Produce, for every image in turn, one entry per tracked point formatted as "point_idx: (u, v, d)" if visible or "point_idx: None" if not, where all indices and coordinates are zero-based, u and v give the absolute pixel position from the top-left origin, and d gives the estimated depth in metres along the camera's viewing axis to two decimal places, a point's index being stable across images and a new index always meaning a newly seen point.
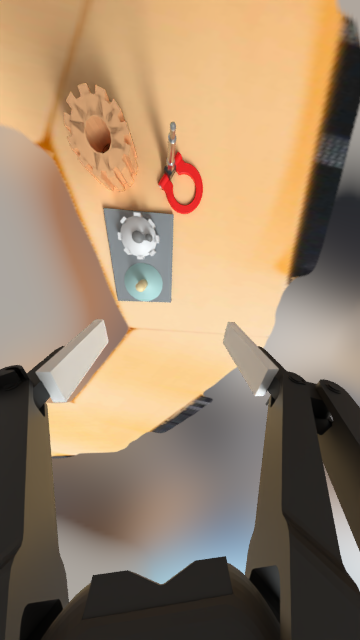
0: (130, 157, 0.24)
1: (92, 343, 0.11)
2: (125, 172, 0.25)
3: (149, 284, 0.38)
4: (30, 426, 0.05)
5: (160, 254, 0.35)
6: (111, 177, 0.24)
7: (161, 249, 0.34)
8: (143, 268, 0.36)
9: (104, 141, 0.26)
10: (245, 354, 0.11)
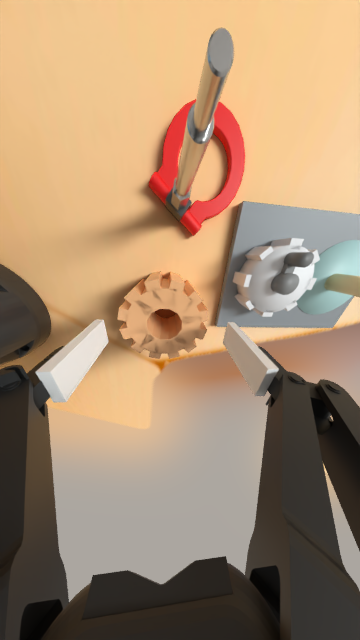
0: (181, 281, 0.14)
1: (92, 343, 0.11)
2: None
3: (340, 270, 0.19)
4: (30, 426, 0.05)
5: None
6: (207, 315, 0.15)
7: (293, 237, 0.16)
8: None
9: (152, 312, 0.20)
10: (245, 354, 0.11)
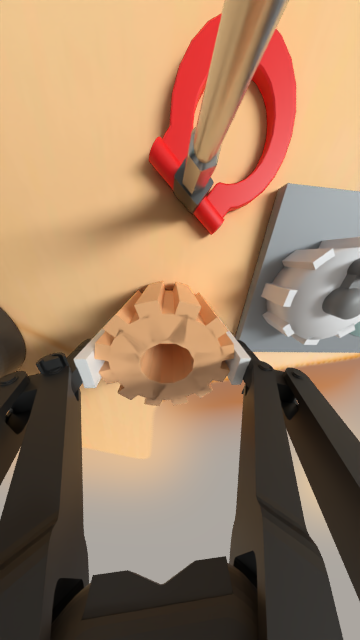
0: (194, 301, 0.09)
1: None
2: (217, 316, 0.10)
3: None
4: (68, 409, 0.06)
5: None
6: None
7: (353, 236, 0.12)
8: None
9: None
10: None
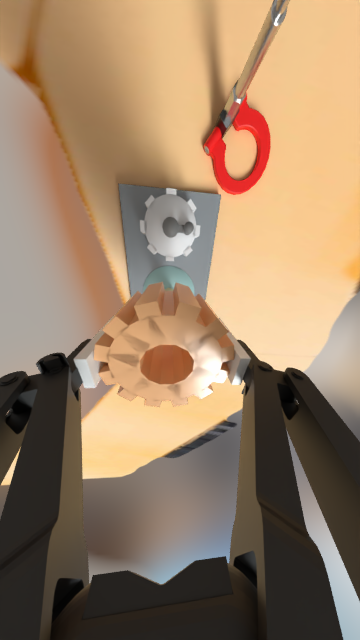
0: (194, 302, 0.09)
1: None
2: (217, 317, 0.10)
3: None
4: (68, 409, 0.06)
5: (195, 254, 0.25)
6: None
7: (197, 246, 0.24)
8: (169, 273, 0.26)
9: None
10: None
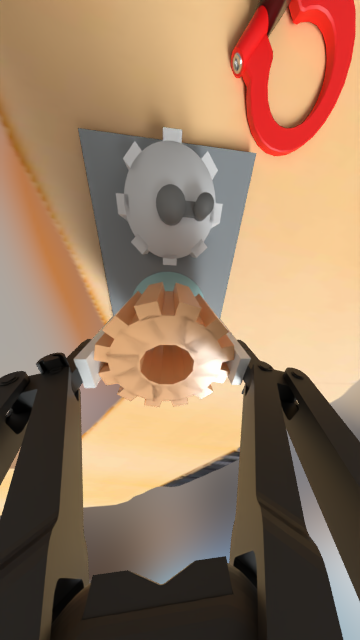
0: (194, 302, 0.09)
1: None
2: (217, 317, 0.10)
3: None
4: (68, 409, 0.06)
5: (209, 253, 0.16)
6: None
7: (213, 242, 0.16)
8: (169, 283, 0.17)
9: None
10: None
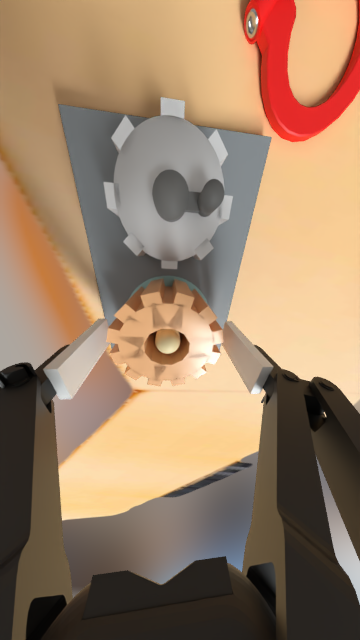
0: (189, 293, 0.10)
1: (96, 342, 0.11)
2: None
3: None
4: (37, 422, 0.05)
5: (214, 255, 0.14)
6: None
7: (219, 242, 0.14)
8: None
9: None
10: (241, 352, 0.11)
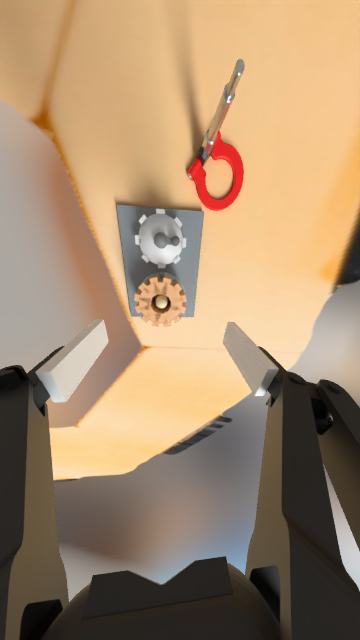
0: (169, 278, 0.25)
1: (92, 343, 0.11)
2: (179, 285, 0.26)
3: None
4: (30, 426, 0.05)
5: (184, 261, 0.28)
6: None
7: (186, 255, 0.28)
8: None
9: (153, 300, 0.31)
10: (245, 354, 0.11)
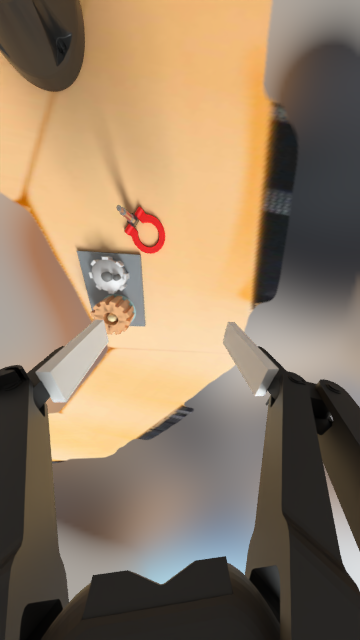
0: (115, 301, 0.35)
1: (92, 343, 0.11)
2: (123, 305, 0.36)
3: None
4: (30, 426, 0.05)
5: (131, 287, 0.39)
6: (128, 315, 0.36)
7: (131, 283, 0.38)
8: None
9: None
10: (245, 354, 0.11)
